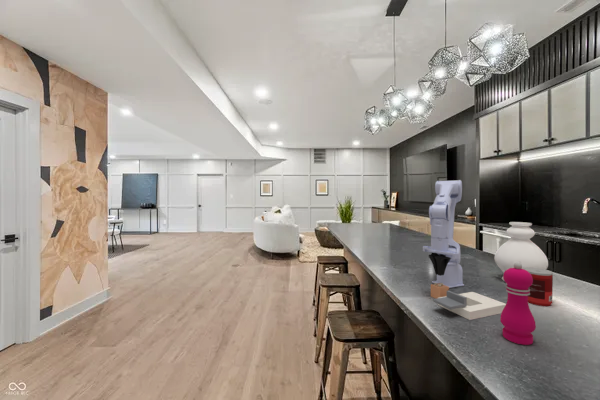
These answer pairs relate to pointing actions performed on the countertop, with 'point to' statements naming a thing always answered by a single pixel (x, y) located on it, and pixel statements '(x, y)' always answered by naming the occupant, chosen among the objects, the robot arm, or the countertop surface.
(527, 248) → the decorative vase
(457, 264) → the robot arm
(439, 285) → the plug
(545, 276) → the canned food
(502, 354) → the countertop surface
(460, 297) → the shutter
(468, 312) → the socket board
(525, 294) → the pepper mill
